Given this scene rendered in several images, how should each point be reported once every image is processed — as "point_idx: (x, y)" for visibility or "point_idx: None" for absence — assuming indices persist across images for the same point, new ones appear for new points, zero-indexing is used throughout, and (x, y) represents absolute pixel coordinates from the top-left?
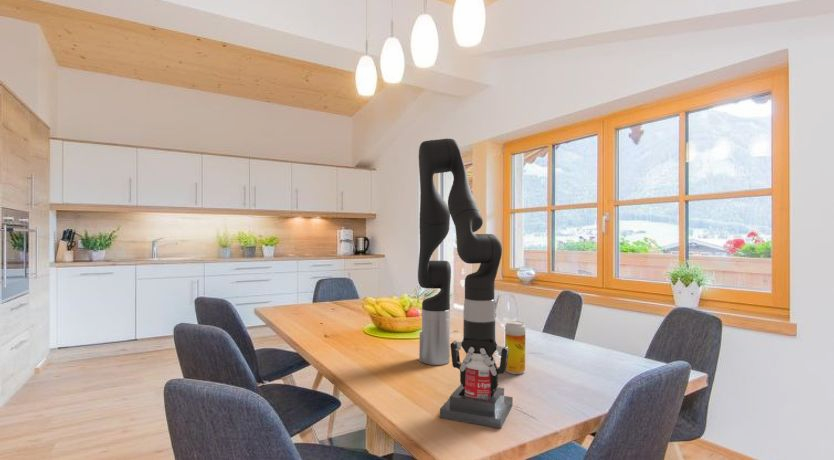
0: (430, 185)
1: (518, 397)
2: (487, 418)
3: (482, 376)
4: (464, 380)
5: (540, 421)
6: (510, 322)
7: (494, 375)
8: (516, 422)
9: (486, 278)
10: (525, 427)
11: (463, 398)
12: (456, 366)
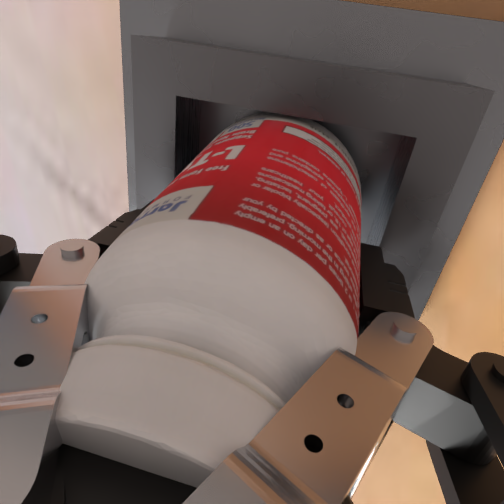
0: None
1: None
2: None
3: (173, 190)
4: (367, 264)
5: (15, 136)
6: None
7: (83, 240)
8: (97, 96)
9: None
10: (48, 46)
11: (369, 74)
12: (479, 361)
